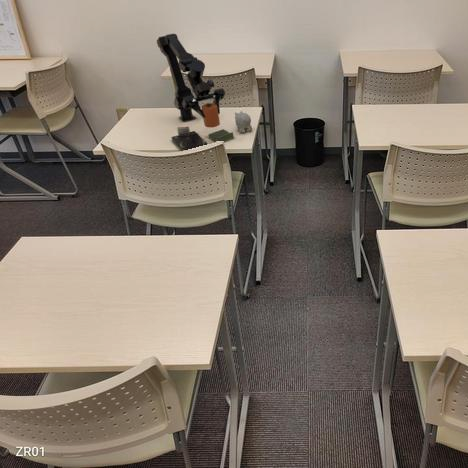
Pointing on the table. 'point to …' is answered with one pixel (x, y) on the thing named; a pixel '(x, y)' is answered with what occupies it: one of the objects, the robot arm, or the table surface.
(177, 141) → the hob
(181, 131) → the grey and red block
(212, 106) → the pot
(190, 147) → the hob plate
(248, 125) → the round bodied animal figurine
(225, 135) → the rack
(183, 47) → the robot arm
